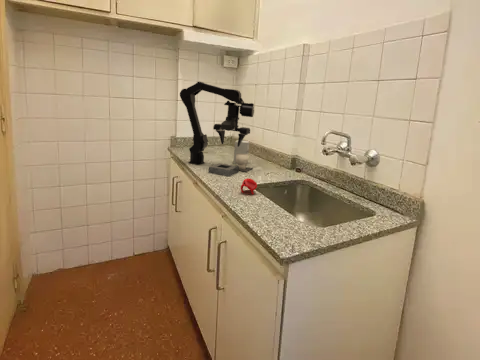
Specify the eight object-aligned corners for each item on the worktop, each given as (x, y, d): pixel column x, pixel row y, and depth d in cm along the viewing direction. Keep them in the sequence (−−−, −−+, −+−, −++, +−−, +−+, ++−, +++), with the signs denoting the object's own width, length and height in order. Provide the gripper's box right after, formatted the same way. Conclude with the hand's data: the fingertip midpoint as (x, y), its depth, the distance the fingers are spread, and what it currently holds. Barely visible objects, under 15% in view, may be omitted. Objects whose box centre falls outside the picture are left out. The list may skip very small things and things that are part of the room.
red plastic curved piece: (254, 189, 118) (261, 178, 122) (241, 182, 119) (247, 171, 123) (250, 200, 125) (256, 190, 128) (237, 193, 126) (243, 183, 129)
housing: (208, 172, 151) (208, 166, 150) (218, 168, 161) (219, 163, 160) (229, 176, 147) (229, 170, 146) (238, 172, 157) (238, 166, 156)
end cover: (233, 168, 161) (234, 154, 159) (238, 166, 167) (239, 152, 165) (244, 170, 159) (245, 156, 157) (249, 168, 164) (250, 154, 162)
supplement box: (245, 165, 174) (247, 142, 171) (232, 163, 175) (234, 141, 172) (248, 162, 181) (250, 141, 178) (235, 161, 182) (237, 139, 179)
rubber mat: (229, 169, 160) (230, 168, 160) (236, 166, 168) (237, 165, 168) (246, 172, 157) (246, 171, 157) (252, 169, 165) (252, 168, 165)
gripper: (209, 113, 155) (207, 144, 159) (243, 117, 149) (240, 150, 153) (219, 113, 165) (217, 142, 169) (252, 117, 159) (248, 147, 163)
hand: (230, 145), depth 163 cm, fingers open, 9 cm apart
